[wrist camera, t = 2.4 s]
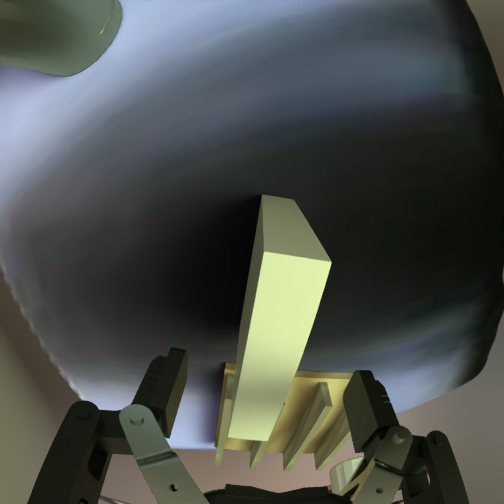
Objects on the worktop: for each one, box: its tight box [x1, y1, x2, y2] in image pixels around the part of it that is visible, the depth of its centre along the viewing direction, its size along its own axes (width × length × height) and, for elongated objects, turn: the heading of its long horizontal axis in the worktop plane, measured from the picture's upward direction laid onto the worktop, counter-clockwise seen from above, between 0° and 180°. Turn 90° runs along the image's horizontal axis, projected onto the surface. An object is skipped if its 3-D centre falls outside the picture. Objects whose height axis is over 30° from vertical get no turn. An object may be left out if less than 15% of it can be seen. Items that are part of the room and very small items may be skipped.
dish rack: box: [214, 362, 353, 471], centre depth 28 cm, size 16×18×4 cm
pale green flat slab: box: [228, 194, 331, 441], centre depth 17 cm, size 2×12×12 cm, turn 171°
